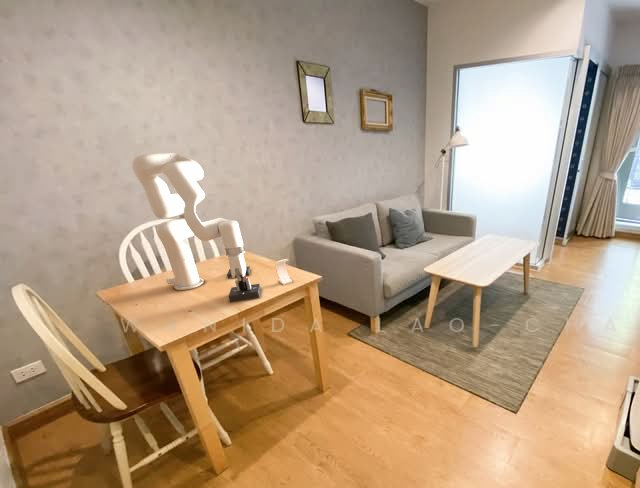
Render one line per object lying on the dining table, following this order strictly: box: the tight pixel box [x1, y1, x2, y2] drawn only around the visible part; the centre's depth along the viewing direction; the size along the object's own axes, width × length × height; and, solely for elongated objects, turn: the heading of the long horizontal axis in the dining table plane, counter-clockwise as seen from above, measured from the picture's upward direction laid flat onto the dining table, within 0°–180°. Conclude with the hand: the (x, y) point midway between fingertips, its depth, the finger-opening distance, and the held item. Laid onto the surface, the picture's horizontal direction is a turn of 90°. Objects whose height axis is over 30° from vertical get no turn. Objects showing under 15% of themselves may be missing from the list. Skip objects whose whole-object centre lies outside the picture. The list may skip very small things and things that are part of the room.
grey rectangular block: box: [234, 277, 252, 291], centre depth 147 cm, size 6×2×5 cm, turn 107°
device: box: [228, 283, 262, 303], centre depth 149 cm, size 12×10×3 cm
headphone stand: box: [275, 258, 293, 286], centre depth 160 cm, size 5×6×12 cm
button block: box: [226, 266, 252, 279], centre depth 171 cm, size 10×8×4 cm
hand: (244, 288), depth 148 cm, fingers closed on grey rectangular block, 2 cm apart
